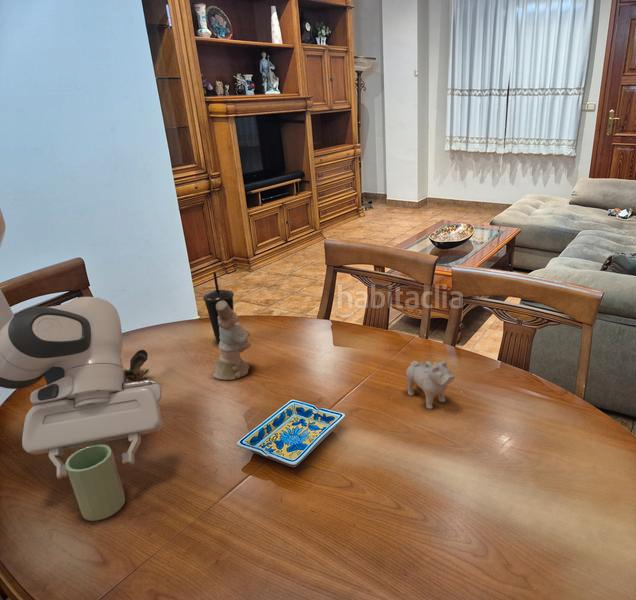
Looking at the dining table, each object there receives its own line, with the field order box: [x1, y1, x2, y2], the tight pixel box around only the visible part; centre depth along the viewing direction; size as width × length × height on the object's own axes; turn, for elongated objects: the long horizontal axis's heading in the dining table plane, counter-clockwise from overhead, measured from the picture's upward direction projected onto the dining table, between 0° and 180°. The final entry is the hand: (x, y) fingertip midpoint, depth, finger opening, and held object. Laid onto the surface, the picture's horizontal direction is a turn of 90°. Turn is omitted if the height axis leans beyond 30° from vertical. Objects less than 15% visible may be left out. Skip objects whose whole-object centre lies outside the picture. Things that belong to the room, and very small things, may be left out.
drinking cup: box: [202, 271, 235, 346], centre depth 135 cm, size 8×8×20 cm
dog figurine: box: [405, 360, 455, 410], centre depth 109 cm, size 5×13×11 cm, turn 39°
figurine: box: [212, 301, 251, 381], centre depth 120 cm, size 9×8×20 cm
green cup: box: [64, 443, 126, 522], centre depth 83 cm, size 6×6×10 cm
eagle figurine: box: [124, 349, 149, 383], centre depth 120 cm, size 8×7×9 cm
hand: (96, 470), depth 83 cm, fingers open, 8 cm apart
